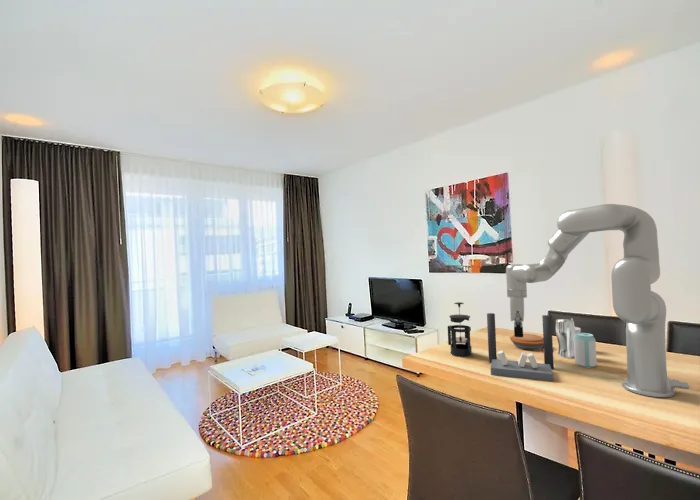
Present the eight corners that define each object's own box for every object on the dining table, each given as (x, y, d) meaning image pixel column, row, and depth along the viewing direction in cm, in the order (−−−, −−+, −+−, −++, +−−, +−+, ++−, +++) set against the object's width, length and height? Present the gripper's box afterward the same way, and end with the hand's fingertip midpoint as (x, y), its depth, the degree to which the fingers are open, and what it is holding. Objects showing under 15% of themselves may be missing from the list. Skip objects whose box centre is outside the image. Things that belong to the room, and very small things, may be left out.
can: (573, 361, 138) (572, 331, 138) (594, 363, 135) (593, 332, 135) (576, 367, 132) (574, 335, 132) (598, 369, 128) (597, 337, 129)
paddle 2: (537, 363, 127) (532, 352, 128) (537, 367, 123) (532, 355, 124) (532, 365, 128) (527, 353, 128) (532, 368, 124) (527, 356, 125)
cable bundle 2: (553, 367, 132) (550, 315, 132) (554, 369, 129) (551, 316, 130) (544, 366, 133) (542, 315, 134) (545, 368, 131) (542, 316, 131)
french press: (478, 354, 152) (475, 302, 152) (464, 358, 147) (462, 305, 147) (456, 348, 162) (454, 300, 162) (443, 352, 156) (440, 302, 157)
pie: (507, 348, 159) (506, 338, 159) (513, 341, 172) (512, 331, 172) (545, 353, 150) (544, 341, 150) (548, 344, 163) (548, 334, 163)
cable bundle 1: (497, 361, 141) (494, 313, 141) (496, 364, 138) (494, 314, 138) (489, 361, 142) (487, 313, 142) (488, 363, 139) (486, 314, 140)
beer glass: (579, 358, 141) (577, 322, 141) (560, 358, 142) (559, 322, 143) (571, 353, 148) (570, 318, 148) (554, 353, 149) (552, 318, 149)
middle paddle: (523, 364, 129) (527, 353, 128) (523, 367, 125) (527, 356, 125) (518, 362, 130) (522, 351, 129) (518, 365, 126) (522, 354, 126)
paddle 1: (507, 361, 131) (502, 350, 132) (507, 364, 128) (502, 352, 128) (502, 362, 132) (498, 351, 133) (502, 365, 128) (497, 354, 129)
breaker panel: (550, 370, 128) (549, 364, 128) (553, 381, 118) (552, 374, 118) (492, 365, 137) (492, 359, 137) (490, 374, 127) (490, 367, 127)
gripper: (507, 291, 154) (509, 329, 154) (506, 296, 138) (508, 338, 138) (526, 291, 151) (528, 330, 150) (527, 296, 135) (529, 339, 135)
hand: (518, 334), depth 144 cm, fingers open, 9 cm apart
